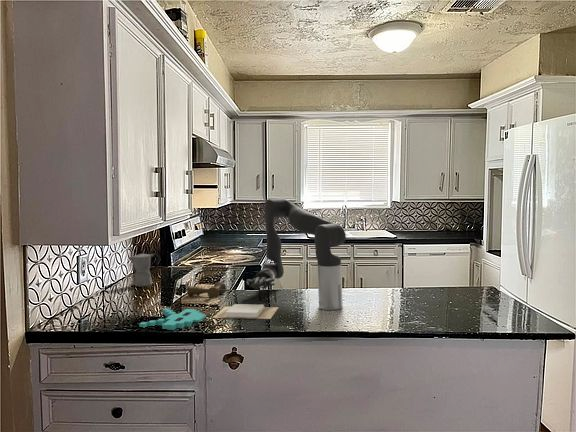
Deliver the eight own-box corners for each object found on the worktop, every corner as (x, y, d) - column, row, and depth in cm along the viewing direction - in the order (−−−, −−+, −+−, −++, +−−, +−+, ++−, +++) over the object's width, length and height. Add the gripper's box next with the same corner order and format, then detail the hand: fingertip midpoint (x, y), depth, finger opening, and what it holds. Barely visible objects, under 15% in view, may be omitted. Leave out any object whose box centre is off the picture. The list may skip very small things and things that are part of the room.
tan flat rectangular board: (278, 309, 181) (278, 307, 181) (270, 321, 166) (270, 318, 166) (225, 308, 185) (225, 306, 185) (212, 320, 170) (212, 317, 170)
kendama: (193, 294, 214) (234, 294, 210) (184, 300, 205) (227, 300, 201) (192, 281, 214) (233, 281, 209) (183, 287, 204) (225, 286, 200)
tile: (264, 304, 178) (257, 312, 167) (264, 309, 178) (257, 318, 168) (234, 304, 180) (225, 312, 170) (234, 309, 181) (225, 317, 170)
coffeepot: (130, 288, 230) (128, 252, 228) (129, 284, 238) (127, 250, 237) (162, 284, 235) (160, 249, 234) (159, 281, 244) (158, 247, 243)
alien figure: (139, 330, 163) (192, 331, 159) (139, 323, 163) (191, 325, 159) (165, 313, 183) (212, 315, 179) (165, 308, 183) (212, 309, 179)
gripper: (250, 269, 208) (239, 277, 191) (279, 269, 205) (270, 277, 188) (251, 285, 208) (240, 295, 191) (279, 286, 206) (271, 295, 189)
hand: (255, 286), depth 190 cm, fingers closed
